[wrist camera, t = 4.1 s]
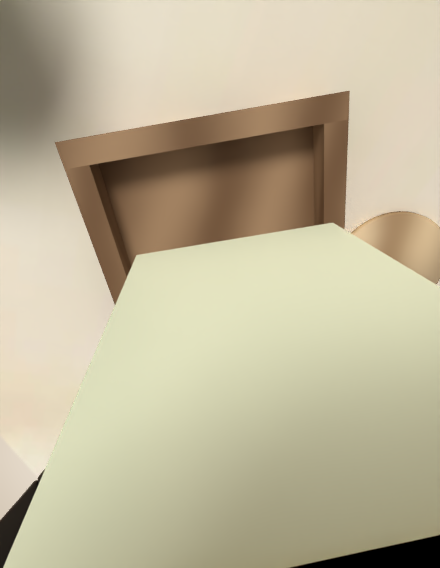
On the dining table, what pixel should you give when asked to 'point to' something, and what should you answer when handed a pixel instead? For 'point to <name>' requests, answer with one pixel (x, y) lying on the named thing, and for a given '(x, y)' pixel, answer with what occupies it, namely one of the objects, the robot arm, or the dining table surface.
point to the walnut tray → (210, 179)
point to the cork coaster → (405, 241)
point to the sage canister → (252, 416)
